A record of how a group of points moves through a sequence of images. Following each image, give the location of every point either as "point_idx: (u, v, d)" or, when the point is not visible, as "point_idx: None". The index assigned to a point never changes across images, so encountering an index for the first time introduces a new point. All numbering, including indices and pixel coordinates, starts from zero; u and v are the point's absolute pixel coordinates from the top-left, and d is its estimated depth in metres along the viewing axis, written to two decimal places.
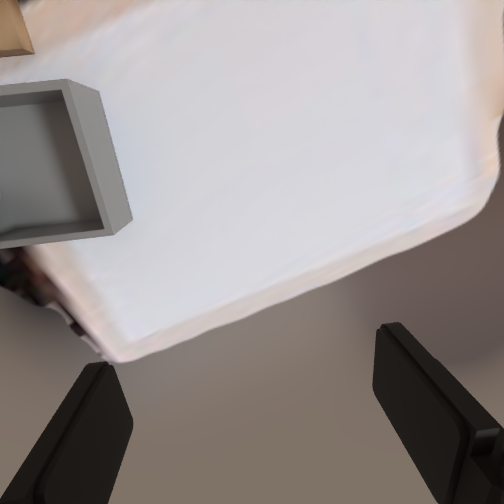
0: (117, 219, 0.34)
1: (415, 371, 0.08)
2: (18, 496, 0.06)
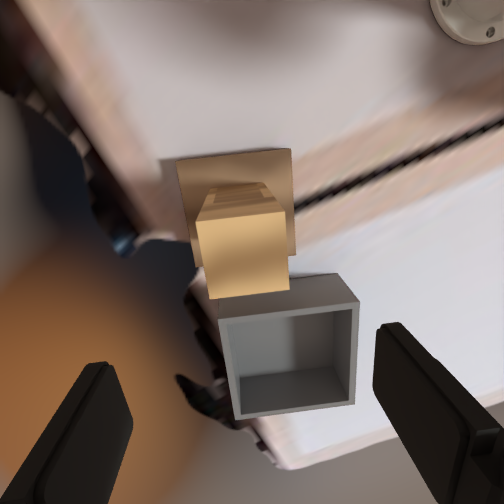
0: None
1: (415, 371, 0.08)
2: (18, 496, 0.06)
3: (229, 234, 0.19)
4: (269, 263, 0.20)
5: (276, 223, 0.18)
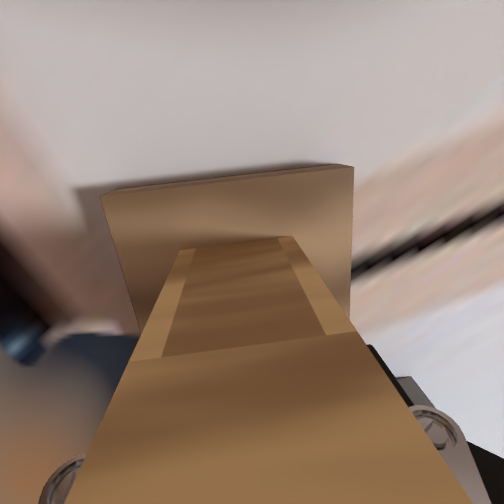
0: None
1: None
2: None
3: None
4: None
5: None
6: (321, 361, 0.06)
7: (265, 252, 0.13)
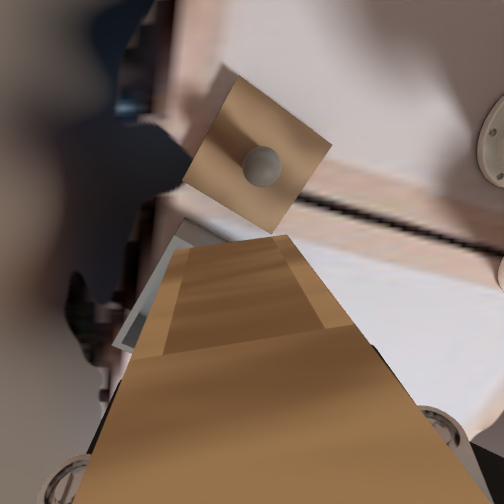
0: None
1: None
2: None
3: None
4: None
5: None
6: (322, 354, 0.07)
7: (260, 250, 0.13)
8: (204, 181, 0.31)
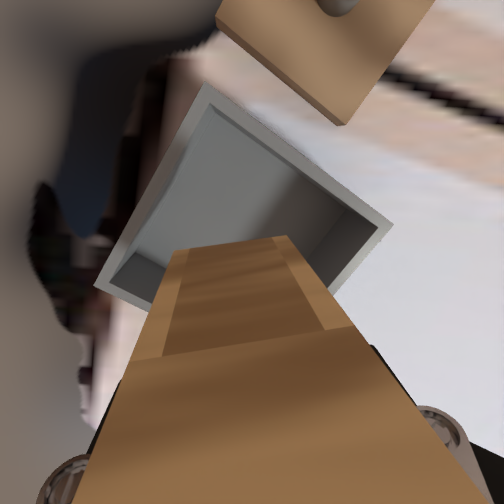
0: None
1: None
2: None
3: None
4: None
5: None
6: (321, 355, 0.06)
7: (260, 251, 0.13)
8: (251, 20, 0.19)
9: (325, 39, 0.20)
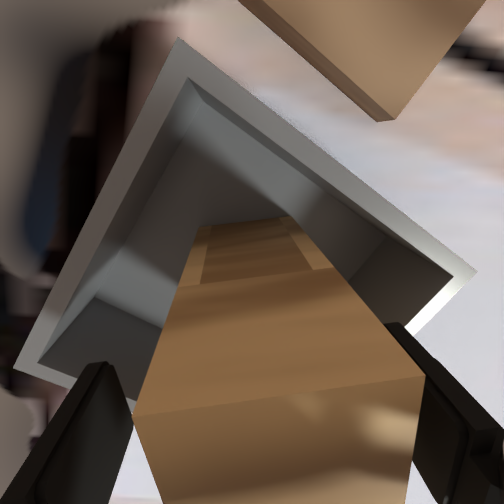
0: None
1: None
2: (19, 495, 0.06)
3: (244, 440, 0.06)
4: (357, 493, 0.07)
5: (391, 407, 0.06)
6: (308, 281, 0.10)
7: (269, 226, 0.16)
8: None
9: None
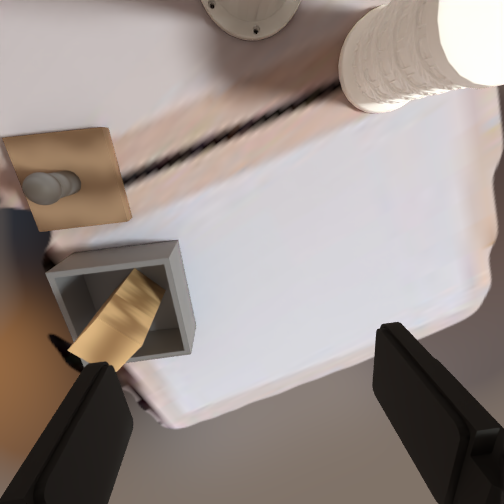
0: (191, 338, 0.43)
1: (415, 371, 0.08)
2: (18, 496, 0.06)
3: (86, 344, 0.32)
4: (118, 342, 0.32)
5: (100, 325, 0.31)
6: None
7: None
8: (52, 221, 0.38)
9: (84, 201, 0.38)
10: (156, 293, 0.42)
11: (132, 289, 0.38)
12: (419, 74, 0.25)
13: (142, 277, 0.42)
